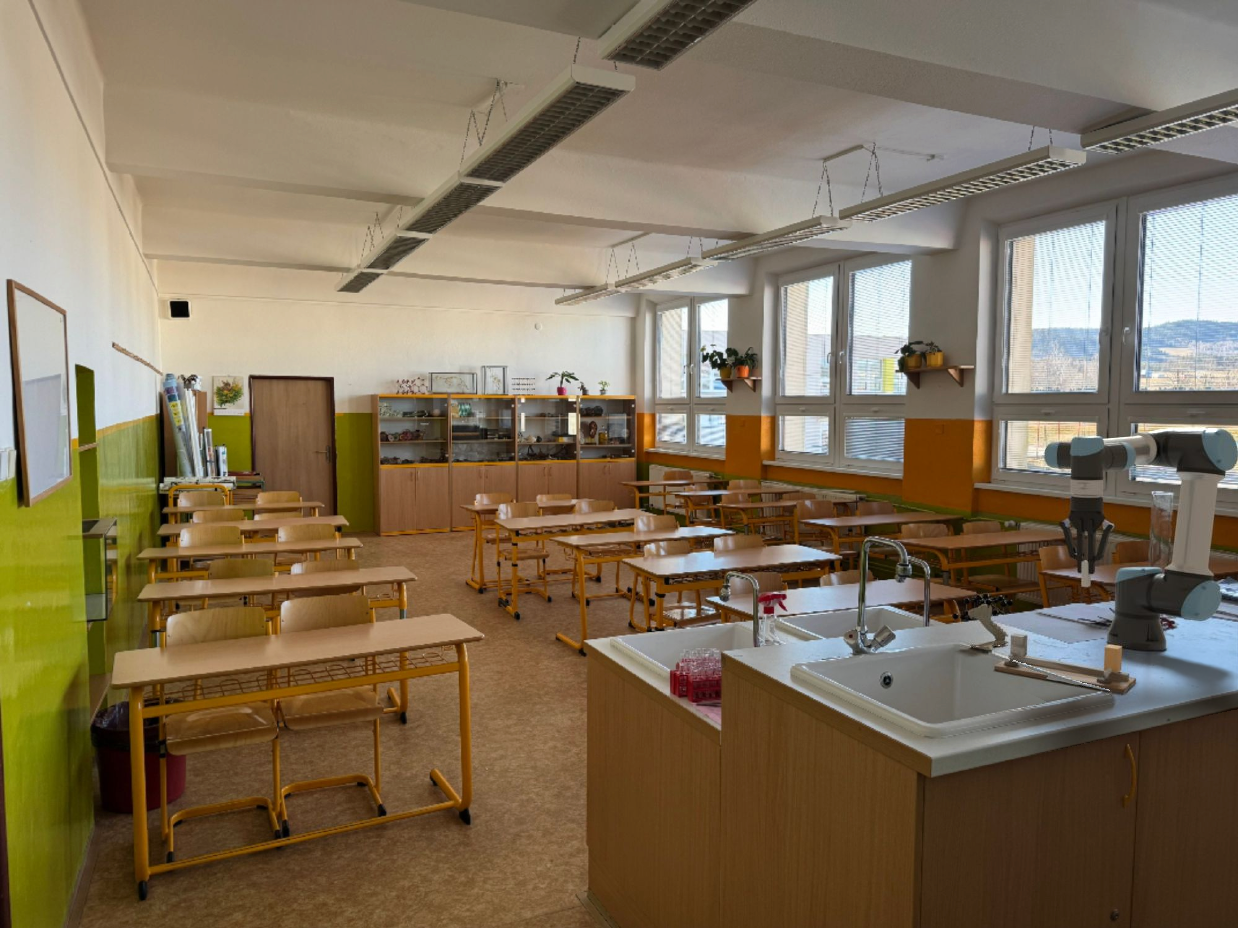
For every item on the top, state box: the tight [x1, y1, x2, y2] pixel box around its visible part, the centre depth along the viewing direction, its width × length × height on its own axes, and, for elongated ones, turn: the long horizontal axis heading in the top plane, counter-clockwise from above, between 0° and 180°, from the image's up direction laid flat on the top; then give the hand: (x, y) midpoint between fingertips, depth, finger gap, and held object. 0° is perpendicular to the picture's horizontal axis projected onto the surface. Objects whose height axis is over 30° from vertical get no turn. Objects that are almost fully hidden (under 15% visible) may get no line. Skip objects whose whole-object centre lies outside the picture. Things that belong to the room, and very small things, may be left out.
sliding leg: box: [1103, 643, 1123, 678], centre depth 216 cm, size 9×3×7 cm, turn 138°
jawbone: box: [967, 603, 1009, 651], centre depth 254 cm, size 14×8×15 cm
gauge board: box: [994, 632, 1137, 695], centre depth 223 cm, size 13×30×8 cm, turn 48°
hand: (1085, 585), depth 226 cm, fingers closed
